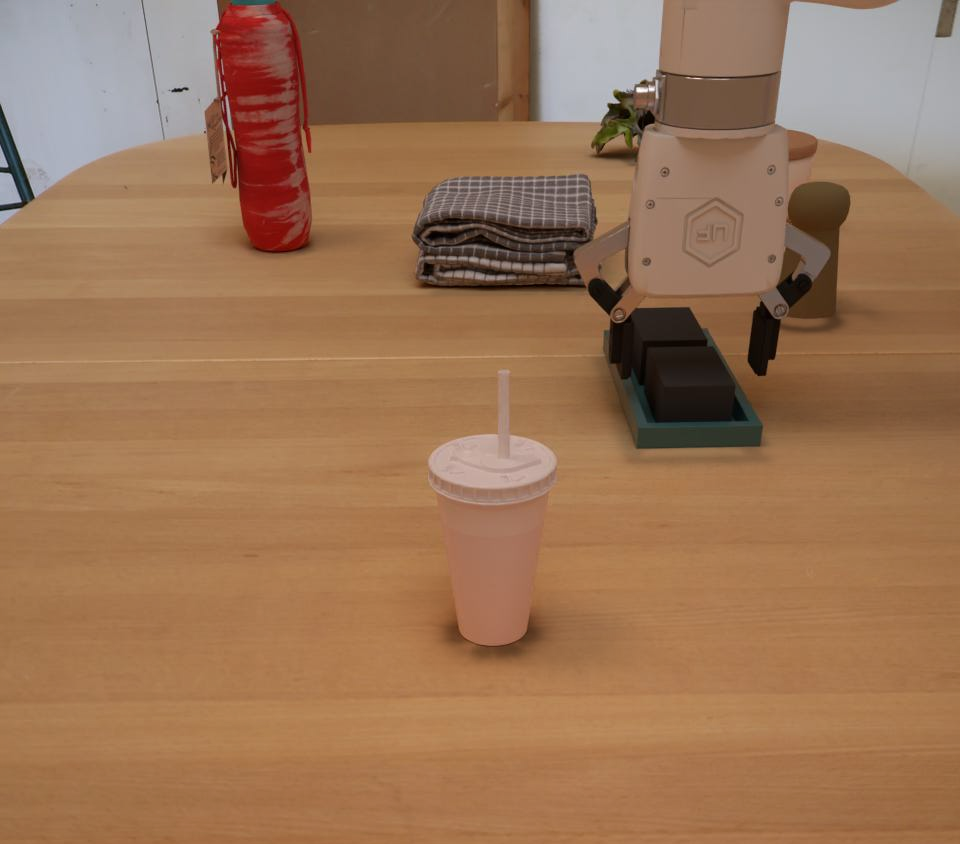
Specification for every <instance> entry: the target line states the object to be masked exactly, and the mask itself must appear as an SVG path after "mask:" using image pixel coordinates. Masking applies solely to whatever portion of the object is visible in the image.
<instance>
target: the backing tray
mask: <svg viewBox="0 0 960 844" xmlns="http://www.w3.org/2000/svg"><path fill="white" fill-rule="evenodd" d="M701 328H702V330H703V332H704V334H705V336H706V337H707V339H708V343H707V346H713V347H714V348H715V350H716V351H717V353H718V355H719V357H720V358H721V360H722V362H723V364H724V365H725V367H726V369H727V371H728V373H729V374H730V376H731V378H732V380H733V381H734V383H735V385H736V387H735V395H734V402H733V410H732V418H731V422H677V423H656V422H655V420H654V417H653V415H652V412H651V409H650V407H649V404H648V402H647V399H646V396H645V394H644V385H639V383H638V381H637V378H636V375H635V373H634V370H633V368H632V372H631V377H629V378H628V379H624V380H621V379H620V376H619V373H618V370H617V367H616V364H610V363H609V356H608V353H609V333H610V329H604V330H603V339H602V340H603V341H602V349H603V352H604V356H605V358H606V361H607V365H608V368H609V371H610V374H611V376H612V379H613V383H614V386H615V389H616V391H617V394H618V397H619V400H620V403H621V406H622V410H623V412H624V415H625V419H626V422H627V424H628V428H629V430H630V434H631V436H632V439H633V442H634V446H635V448H636V449H637V450H647V449H648V450H649V449H651V450H652V449H699V448H700V449H703V448H707V449H708V448H752V447H753V448H754V447H761V442H762V436H763V430H764V425H763V422H762V421H761V420H760V418H759V416H758V415H757V412H756V411H755V409H754V407H753V406H752V404H751V402H750V401H749V398H748V397H747V395H746V393H745V392H744V390H743V388H742V386H741V385H740V384H739V382H738V380H737V378H736V377H735V374H734V373H733V371H732V369H731V367H730V366H729V364H728V362H727V361H726V359H725V358H724V356H723V354H722V352H721V350H720V348H719V347H718V345H717V343H716V342H715V340H714V338H713V337H712V334H711V333H710V331H709V329H708V328H707V327H701Z"/></svg>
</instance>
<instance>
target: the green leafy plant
mask: <svg viewBox="0 0 960 844" xmlns="http://www.w3.org/2000/svg"><path fill="white" fill-rule="evenodd" d="M648 81H649V79H646V78H644V79H643V80H641V81H640V82H639V84H646V83H647V82H648ZM633 94H634V89H633V90H632V89H631V88H630V89H628V88H626V90H625V91H624V90H623V91H621V90H619V89H617V88H614V89H613V91H612V95H613V98H614V99H615V100H616V101H617V103H613V102H607V103H606V108H608V111H607V112H606V113H605V114H604V116H603V117H602V119H601V121H600V129H599V131H597V132H596V134H595V136H594V138H593V139H592V141H591V143H590V147H591V149H592V150H594V149H595V151H596V154H597V155H599V154H600V153H601V152H602V151H603V150H604V147H605V146H606V144H607V143H609V142H610V141H612V140H614V139H615V138H617V137H619V136H623V138H624V142H625V144H626V146H627V147H628V148H629V149H631V150H633V148H634V144H633V139H634V138H635V137H636V136H637V141H636V144H637V147H638V150H639V149H640V144H641V140H642V136H643V133H644V129H645V127H646V126H647V125H650V124H655V117H654V116H653V114H652V113H651V111H650V110H645V108H634V105H633ZM638 153H639V151H638V152H637V154H638ZM637 157H638V155H637V156H636V157H635V160H634V162H635V163H636V162H637Z"/></svg>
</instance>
